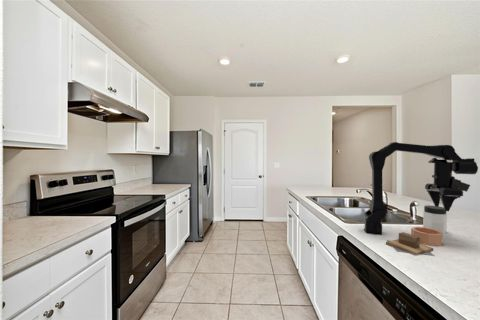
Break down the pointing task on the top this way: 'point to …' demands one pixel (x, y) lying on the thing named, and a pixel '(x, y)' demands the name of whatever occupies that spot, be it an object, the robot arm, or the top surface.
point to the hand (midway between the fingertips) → (441, 208)
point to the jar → (435, 218)
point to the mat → (407, 252)
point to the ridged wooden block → (409, 244)
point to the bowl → (428, 236)
